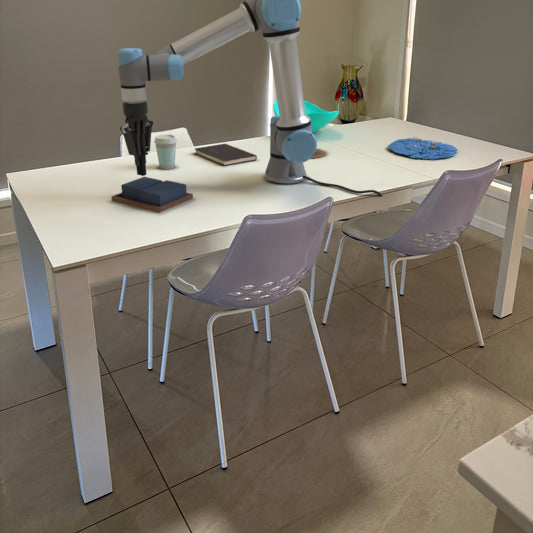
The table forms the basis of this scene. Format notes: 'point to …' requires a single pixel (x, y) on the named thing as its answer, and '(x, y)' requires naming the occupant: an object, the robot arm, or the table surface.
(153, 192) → the pad
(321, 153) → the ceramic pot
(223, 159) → the hardcover book
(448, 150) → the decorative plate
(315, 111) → the table top decor
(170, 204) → the brown tray
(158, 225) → the table surface
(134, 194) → the pad
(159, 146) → the coffee cup
